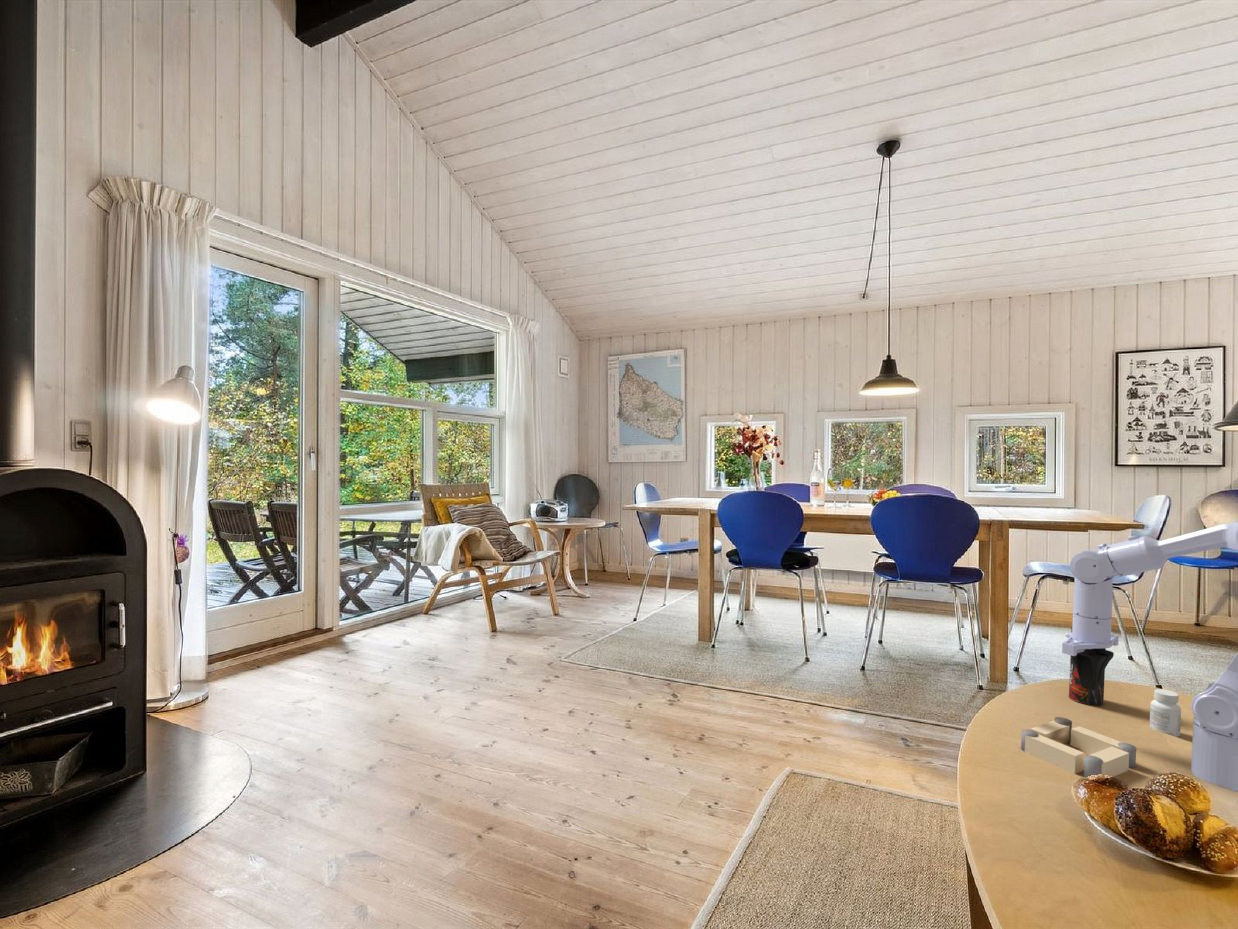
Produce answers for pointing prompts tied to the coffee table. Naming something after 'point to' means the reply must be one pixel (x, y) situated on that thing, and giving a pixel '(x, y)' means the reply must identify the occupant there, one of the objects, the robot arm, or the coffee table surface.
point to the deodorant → (1084, 689)
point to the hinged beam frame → (1102, 760)
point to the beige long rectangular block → (1056, 730)
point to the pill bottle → (1165, 712)
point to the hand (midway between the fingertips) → (1089, 688)
